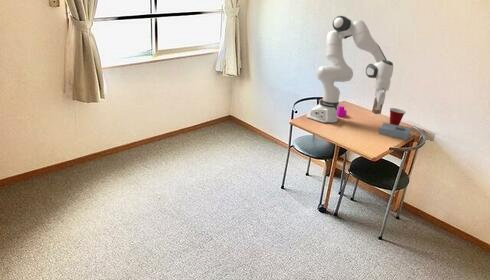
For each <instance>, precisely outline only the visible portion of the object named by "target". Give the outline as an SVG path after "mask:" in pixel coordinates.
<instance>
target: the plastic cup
mask: <svg viewBox="0 0 490 280" xmlns="http://www.w3.org/2000/svg"><path fill="white" fill-rule="evenodd" d="M405 114H406V111H405V110H403V109H399V108H396V107H390V108H389V124H393V125H397V126H400V124H401V121H402V119H403V117H404V116H405Z"/></svg>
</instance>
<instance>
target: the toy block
mask: <svg viewBox="0 0 490 280" xmlns="http://www.w3.org/2000/svg"><path fill="white" fill-rule="evenodd" d="M347 112H348V111H347V110H346V109H345V106H343V105H339V106H338V109H337V118H344V116H345V117H347Z"/></svg>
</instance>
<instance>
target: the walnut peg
mask: <svg viewBox="0 0 490 280" xmlns="http://www.w3.org/2000/svg"><path fill="white" fill-rule="evenodd" d="M377 104H378V102H377V98H376V97H374V101H373V106H372V109H371V113H373V114H375V115H381V114H382V110H383V106H384V104H381V106H380V109H377Z"/></svg>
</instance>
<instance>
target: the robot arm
mask: <svg viewBox="0 0 490 280" xmlns="http://www.w3.org/2000/svg"><path fill="white" fill-rule="evenodd" d="M332 27H333V29H334V30H331V31H329V32H328V33H327V35H326V41H325V42H326V44H325V50H326V52H325V54H326V59H327V60H328V61H329V62H331V64H332V65H321V66H319V67H318V69H317V71H316V77H317V79H318V80H319V82H321V84H322V85H323V86H322V87H323V94H322V95H323V96H322V98H321V99H319V103H318V104H317V105H315V106H313V107H312V108H311V109H310V111H309V112H308V113H307V114H306V116H305V117H306V118H307V119H311V120H314V121H318V122H321V123H337V122H338V116H337V109H338V106H340V104H339V103H340V100H339V99H340V94H341V91H340V89H339V87H337V86H335V82H336V83H337V82H338V83H344V82H345V83H346V82H350V81H351V80H352V79H353V77H354V71H353V69H352V68H351V67H350V66H349V65H348V64H347V62H346V61H345V58H344V55H343V39H344V40H346V39H348V38H350V37H352V39H353V41H354V44H355V46H356V47H357V48H358V49H359V50H362V51H365V52H368V53H370V54H371V55H372V56H373V57H374V59H375V61H376V62H372V63H369V64H368V65H367V66H366V68H365V75H366V76H367V77H368V78H370V79H375V84H374V89H375V90H374V91H375V92H374V96H375V97H374V98H377V102H378V104H377V109H380V106H381V104H383V105H384V104H385V99H386V95H387V94H386V93H387V91H389V90H390V86H391V79H392V76H393V72H394V63H393V61H390V60H387V57H386V56H385V54H384V53H383V49H381V47H380V45H379V44H378V43H377V42H376V40H375V39H374V38H373V36H372V34H371V32H370V30H369V28H368V26H367V24H366V23H365V21H363V20H361V19H356V20H355V21H353V20H351V19H350V18H349V17H347V16H344V15H338V16H337V15H336V17H334V19H333V21H332Z"/></svg>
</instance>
